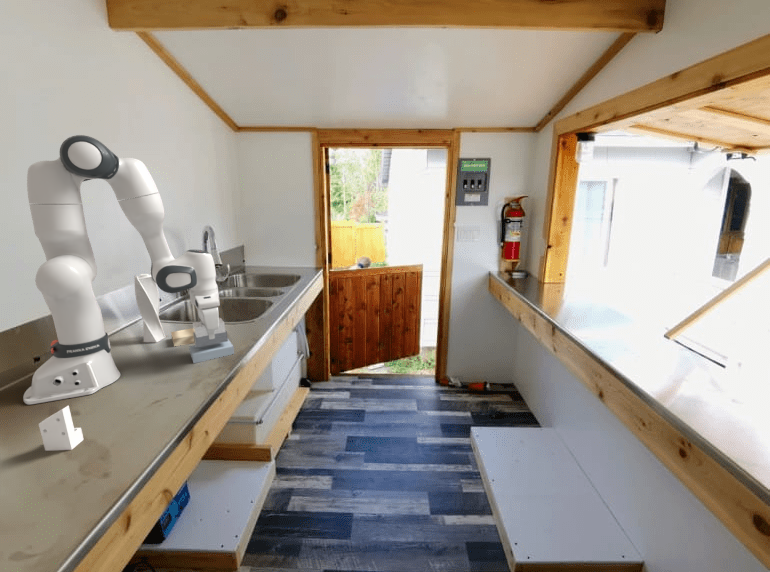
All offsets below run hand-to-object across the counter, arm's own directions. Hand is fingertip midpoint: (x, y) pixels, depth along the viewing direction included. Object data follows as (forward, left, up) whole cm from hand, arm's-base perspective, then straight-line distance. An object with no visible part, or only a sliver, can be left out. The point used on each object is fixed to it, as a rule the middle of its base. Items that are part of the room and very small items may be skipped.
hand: (209, 335), depth 134 cm
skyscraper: (-16, +28, -8) cm, 33 cm away
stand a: (-4, +20, -7) cm, 22 cm away
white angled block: (-37, -35, -7) cm, 51 cm away
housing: (0, 0, -2) cm, 2 cm away
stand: (0, 0, -7) cm, 7 cm away
